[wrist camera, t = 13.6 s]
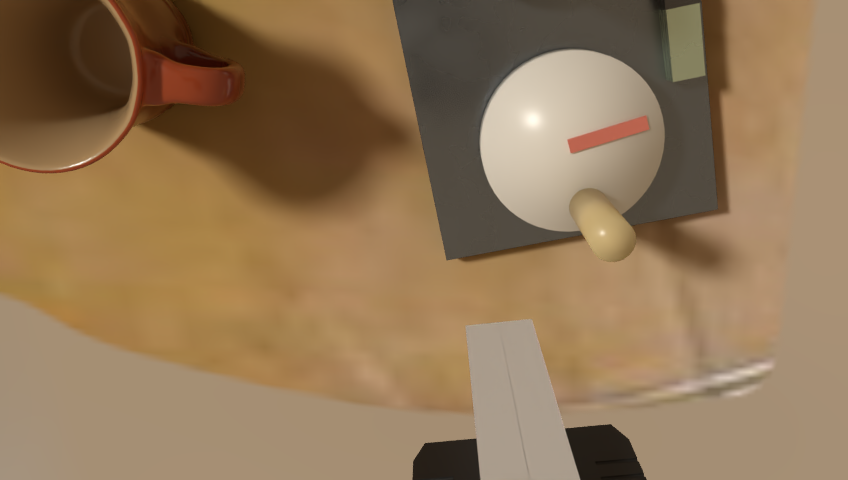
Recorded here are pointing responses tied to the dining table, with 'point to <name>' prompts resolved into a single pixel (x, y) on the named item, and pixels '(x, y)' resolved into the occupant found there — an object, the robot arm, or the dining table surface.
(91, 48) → the mug
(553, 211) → the knob
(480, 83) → the base plate
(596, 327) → the dining table surface
